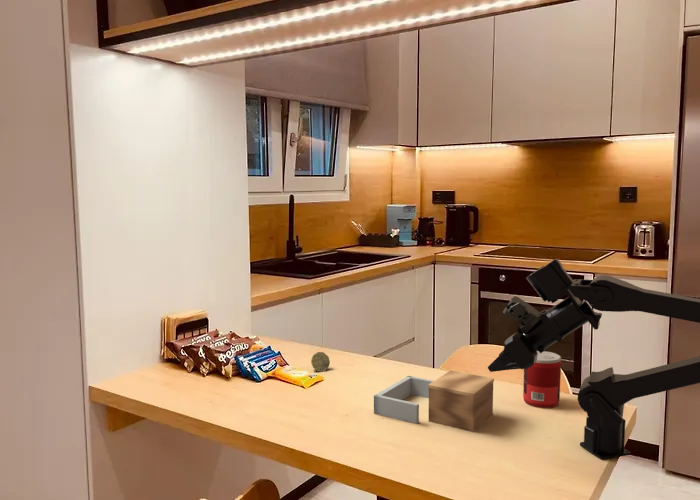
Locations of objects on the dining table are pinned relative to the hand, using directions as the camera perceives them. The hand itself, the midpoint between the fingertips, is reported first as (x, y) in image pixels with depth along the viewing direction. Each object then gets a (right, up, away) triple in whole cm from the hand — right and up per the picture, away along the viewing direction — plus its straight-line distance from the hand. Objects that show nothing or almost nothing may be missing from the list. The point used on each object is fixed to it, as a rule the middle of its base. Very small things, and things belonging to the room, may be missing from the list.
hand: (494, 363), depth 122 cm
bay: (-15, -13, +15) cm, 25 cm away
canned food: (+15, -12, +17) cm, 26 cm away
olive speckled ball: (-37, -10, +41) cm, 56 cm away
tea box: (-5, -14, +8) cm, 17 cm away
